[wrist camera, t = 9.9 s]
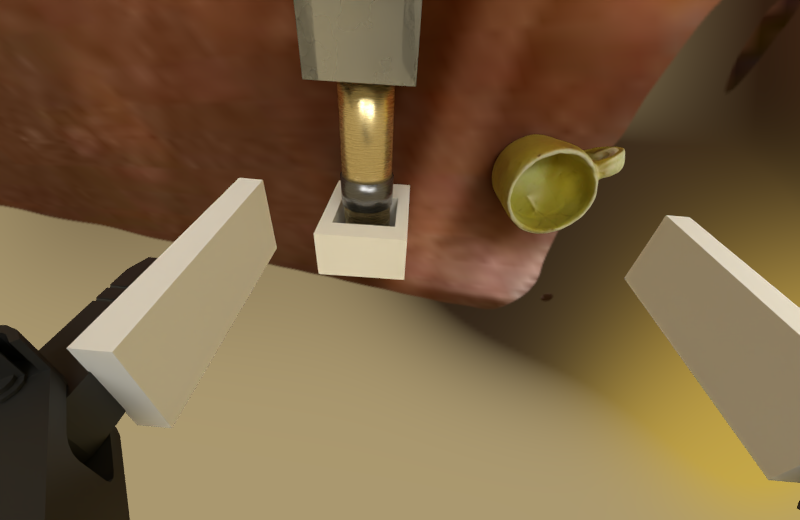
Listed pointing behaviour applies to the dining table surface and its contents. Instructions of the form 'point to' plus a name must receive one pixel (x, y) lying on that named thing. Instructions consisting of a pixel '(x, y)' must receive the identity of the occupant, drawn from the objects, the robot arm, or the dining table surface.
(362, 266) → the socket block
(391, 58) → the pale grey box
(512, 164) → the mug
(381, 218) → the tube
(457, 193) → the dining table surface
